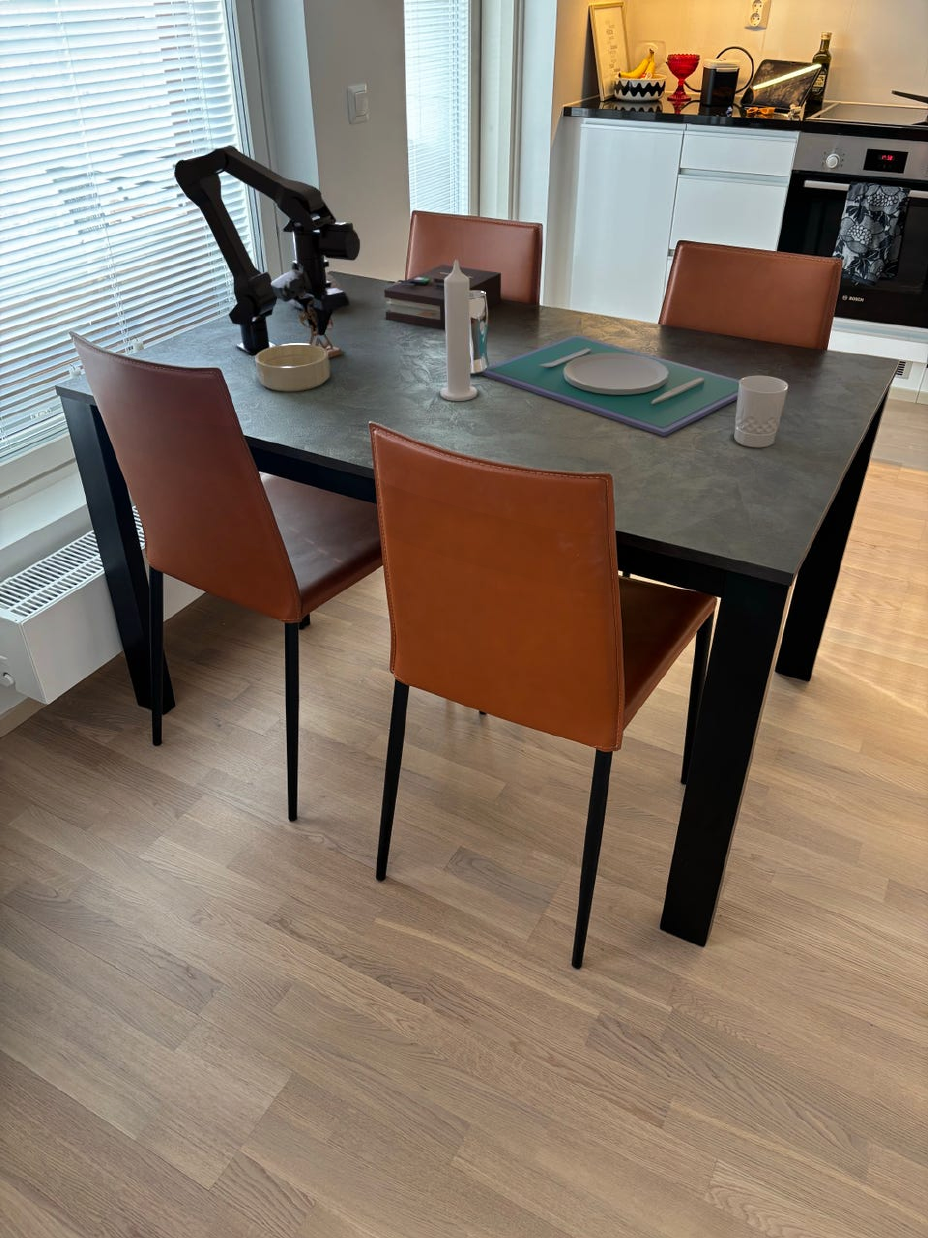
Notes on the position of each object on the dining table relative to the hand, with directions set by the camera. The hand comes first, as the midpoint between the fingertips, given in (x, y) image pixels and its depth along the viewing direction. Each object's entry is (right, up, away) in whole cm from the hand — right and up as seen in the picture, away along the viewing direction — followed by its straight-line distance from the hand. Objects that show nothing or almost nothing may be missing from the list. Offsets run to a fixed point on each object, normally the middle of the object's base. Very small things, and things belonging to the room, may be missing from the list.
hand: (317, 333), depth 197 cm
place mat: (+61, -13, -12) cm, 63 cm away
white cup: (+81, -29, -35) cm, 93 cm away
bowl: (-3, -12, -8) cm, 15 cm away
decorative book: (+26, +14, +29) cm, 42 cm away
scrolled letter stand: (0, -4, +3) cm, 5 cm away
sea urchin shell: (-6, +17, +34) cm, 39 cm away
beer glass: (+33, -10, -6) cm, 35 cm away
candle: (+30, -17, -16) cm, 38 cm away
